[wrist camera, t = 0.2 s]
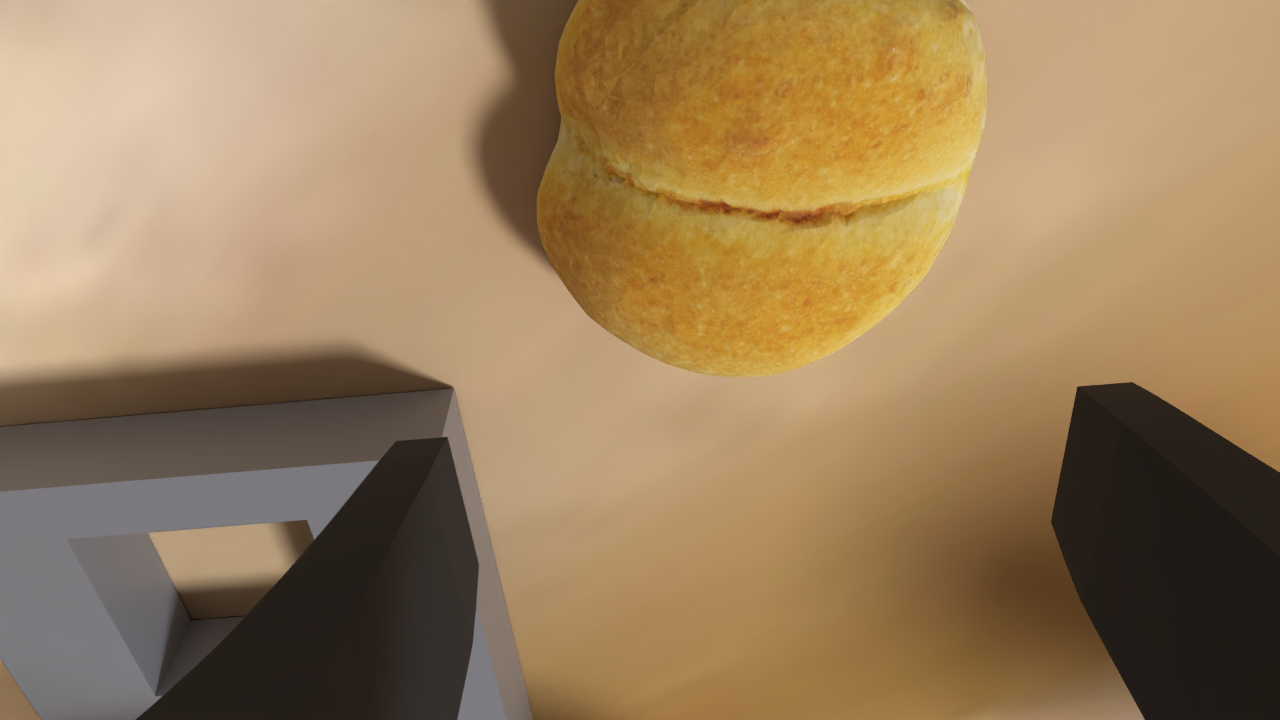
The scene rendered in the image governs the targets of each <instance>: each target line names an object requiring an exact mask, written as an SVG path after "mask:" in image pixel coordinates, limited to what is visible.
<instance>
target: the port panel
mask: <svg viewBox="0 0 1280 720" xmlns="http://www.w3.org/2000/svg"><path fill="white" fill-rule="evenodd" d="M440 437H448V440H449V444H450V448H451V452H452V456H453V460H454V464H455V468H456V473H457V477H458V481H459V485H460V489H461V493H462V497H463V501H464V505H465V509H466V513H467V517H468V521H469V525H470V529H471V533H472V538H473V542H474V546H475V550H476V554H477V558H478V562H479V574H478V588H477V602H476V614H475V625H474V636H473V645H472V650H471V655H470V660H469V665H468V670H467V675H466V680H465V685H464V690H463V695H462V700H461V704H460V709H459V714H458V719H457V720H534V719H533V715H532V711H531V707H530V703H529V699H528V694H527V690H526V686H525V682H524V678H523V674H522V669H521V665H520V661H519V657H518V653H517V649H516V644H515V640H514V636H513V632H512V628H511V624H510V619H509V615H508V611H507V607H506V603H505V599H504V594H503V590H502V586H501V582H500V578H499V574H498V569H497V565H496V561H495V557H494V553H493V549H492V544H491V540H490V536H489V532H488V528H487V524H486V519H485V515H484V511H483V507H482V503H481V499H480V494H479V490H478V486H477V482H476V478H475V474H474V469H473V465H472V461H471V457H470V453H469V449H468V444H467V440H466V436H465V432H464V428H463V424H462V419H461V415H460V411H459V407H458V403H457V399H456V394H455V390H454V388H451V389H440V390H428V391H416V392H404V393H392V394H381V395H369V396H357V397H345V398H334V399H322V400H310V401H298V402H287V403H275V404H263V405H251V406H240V407H228V408H216V409H204V410H192V411H181V412H169V413H157V414H145V415H134V416H122V417H110V418H98V419H87V420H75V421H63V422H51V423H39V424H28V425H16V426H4V427H0V660H1V661H2V663H3V664H4V666H5V667H6V669H7V670H8V672H9V673H10V674H11V676H12V677H13V679H14V680H15V682H16V683H17V685H18V686H19V688H20V689H21V691H22V692H23V693H24V695H25V696H26V698H27V699H28V701H29V702H30V704H31V705H32V707H33V708H34V710H35V711H36V712H37V714H38V715H39V717H40V718H41V720H136V719H137V718H138V717H139V716H140V715H142V714H143V713H144V712H145V711H146V710H147V709H149V708H150V707H151V706H152V705H153V704H154V703H155V702H157V701H158V700H159V699H160V698H161V697H162V696H163V695H164V694H165V693H167V692H168V691H169V690H170V689H171V688H172V687H173V686H174V685H175V684H177V683H178V682H179V681H180V680H181V679H182V678H183V677H184V676H185V675H186V674H188V673H189V672H190V671H191V670H192V669H193V668H194V667H195V666H196V665H197V664H198V663H200V662H201V661H202V660H203V659H204V658H205V657H206V656H207V655H208V654H209V653H210V652H211V651H212V650H213V649H214V648H215V647H216V646H217V645H218V644H219V643H220V642H221V641H222V640H223V639H224V638H225V637H226V636H227V635H228V634H229V633H230V632H231V631H232V630H233V629H234V628H235V627H236V626H237V625H238V624H239V623H240V622H241V621H242V620H243V619H244V617H245V616H243V617H230V618H217V619H204V620H191V619H190V617H189V615H188V613H187V611H186V609H185V607H184V605H183V603H182V601H181V599H180V597H179V595H178V593H177V591H176V589H175V587H174V585H173V583H172V581H171V579H170V577H169V575H168V573H167V571H166V569H165V567H164V565H163V563H162V561H161V559H160V557H159V555H158V553H157V551H156V549H155V547H154V545H153V543H152V541H151V539H150V537H149V535H148V533H150V532H162V531H175V530H187V529H199V528H212V527H224V526H237V525H249V524H262V523H274V522H286V521H299V520H307V522H308V524H309V527H310V530H311V532H312V535H313V538H314V540H315V538H316V537H317V536H318V535H319V534H320V533H321V531H322V530H323V529H324V528H325V527H326V525H327V524H328V523H329V522H330V521H331V519H332V518H333V517H334V516H335V515H336V513H337V512H338V511H339V510H340V508H341V507H342V506H343V505H344V503H345V502H346V501H347V500H348V499H349V497H350V496H351V495H352V494H353V492H354V491H355V490H356V489H357V487H358V486H359V485H360V484H361V482H362V481H363V480H364V479H365V477H366V476H367V475H368V474H369V473H370V471H371V470H372V469H373V468H374V466H375V465H376V464H377V463H378V461H379V460H380V459H381V458H382V457H383V456H384V454H385V453H386V452H387V451H388V450H389V448H390V447H391V446H392V445H393V444H394V443H395V442H396V441H402V440H414V439H427V438H440Z"/></svg>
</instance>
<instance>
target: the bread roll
mask: <svg viewBox="0 0 1280 720" xmlns="http://www.w3.org/2000/svg"><path fill="white" fill-rule="evenodd" d="M555 86H556V96H557V102H558V106H559V111H560V113H561V126H560V131H559V137H558V142H557V144H556V146H555V148H554V150H553V152H552V154H551V157H550V159H549V161H548V163H547V166H546V169H545V172H544V175H543V178H542V181H541V184H540V187H539V190H538V194H537V219H536V221H537V225H538V230H539V234H540V238H541V242H542V245H543V248H544V250H545V252H546V254H547V257H548V259H549V261H550V263H551V265H552V267H553V268H554V270H555V271H556V273H557V274H558V276H559V277H560V279H561V280H562V282H563V283H564V285H565V286H566V288H567V289H568V291H569V292H570V293H571V295H572V296H573V297H574V299H575V300H576V301H577V302H578V304H579V305H580V306H581V308H582V309H583V310H584V311H585V313H586V314H587V315H588V316H589V317H590V318H592V319H593V320H594V321H596V322H597V323H598V324H599V325H601V326H602V327H603V328H604V329H606V330H607V331H609V332H610V333H612V334H613V335H615V336H616V337H618V338H619V339H621V340H622V341H624V342H625V343H627V344H629V345H630V346H632V347H634V348H635V349H637V350H639V351H641V352H642V353H644V354H646V355H648V356H650V357H652V358H654V359H657V360H659V361H661V362H664V363H666V364H669V365H672V366H675V367H678V368H682V369H685V370H689V371H692V372H696V373H700V374H708V375H716V376H725V377H753V376H769V375H774V374H778V373H782V372H786V371H790V370H793V369H796V368H799V367H801V366H804V365H807V364H810V363H812V362H815V361H817V360H819V359H821V358H824V357H826V356H828V355H830V354H832V353H834V352H836V351H838V350H839V349H841V348H843V347H844V346H846V345H847V344H849V343H850V342H852V341H853V340H855V339H856V338H858V337H859V336H861V335H862V334H864V333H865V332H866V331H868V330H869V329H871V328H872V327H873V326H874V325H876V324H877V323H878V322H879V321H881V320H882V319H883V318H884V317H885V316H886V315H888V314H889V313H890V312H891V311H892V310H894V309H895V308H896V306H897V305H898V304H899V303H900V302H901V301H902V300H903V299H904V298H905V297H906V296H907V295H908V294H909V293H910V292H911V291H912V290H913V289H914V288H915V287H916V286H917V285H918V283H919V282H920V281H921V280H922V279H923V278H924V277H925V275H926V274H927V272H928V270H929V269H930V267H931V265H932V264H933V262H934V260H935V258H936V257H937V255H938V253H939V252H940V250H941V248H942V246H943V245H944V243H945V241H946V239H947V238H948V236H949V234H950V232H951V230H952V227H953V224H954V221H955V218H956V215H957V212H958V209H959V207H960V204H961V201H962V198H963V196H964V193H965V188H966V184H967V180H968V176H969V173H970V170H971V167H972V164H973V161H974V159H975V156H976V153H977V150H978V147H979V144H980V140H981V137H982V133H983V129H984V125H985V120H986V110H987V77H986V65H985V53H984V47H983V42H982V37H981V31H980V26H979V24H978V22H977V20H976V18H975V17H974V15H973V13H972V11H971V9H970V7H969V5H968V3H967V1H966V0H578V2H577V4H576V6H575V8H574V10H573V12H572V14H571V15H570V17H569V19H568V21H567V24H566V26H565V29H564V31H563V34H562V36H561V39H560V41H559V46H558V53H557V60H556V68H555Z"/></svg>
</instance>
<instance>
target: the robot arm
mask: <svg viewBox="0 0 1280 720" xmlns="http://www.w3.org/2000/svg"><path fill="white" fill-rule="evenodd" d="M1051 523H1052V526H1053V529H1054V531H1055V534H1056V537H1057V540H1058V542H1059V545H1060V548H1061V551H1062V554H1063V556H1064V559H1065V562H1066V565H1067V567H1068V570H1069V572H1070V575H1071V577H1072V580H1073V582H1074V585H1075V588H1076V590H1077V593H1078V595H1079V598H1080V600H1081V602H1082V604H1083V606H1084V608H1085V610H1086V612H1087V613H1088V615H1089V617H1090V619H1091V621H1092V623H1093V625H1094V627H1095V629H1096V630H1097V632H1098V634H1099V636H1100V638H1101V640H1102V642H1103V643H1104V645H1105V647H1106V649H1107V651H1108V653H1109V655H1110V657H1111V658H1112V660H1113V662H1114V664H1115V666H1116V668H1117V669H1118V671H1119V673H1120V675H1121V677H1122V679H1123V680H1124V682H1125V684H1126V686H1127V688H1128V689H1129V691H1130V693H1131V695H1132V697H1133V699H1134V700H1135V702H1136V704H1137V706H1138V708H1139V710H1140V711H1141V713H1142V715H1143V717H1144V719H1145V720H1280V472H1278V471H1276V470H1275V469H1273V468H1271V467H1270V466H1268V465H1266V464H1265V463H1263V462H1262V461H1260V460H1258V459H1257V458H1255V457H1254V456H1252V455H1250V454H1249V453H1247V452H1246V451H1244V450H1242V449H1241V448H1239V447H1238V446H1236V445H1234V444H1233V443H1231V442H1230V441H1228V440H1227V439H1225V438H1223V437H1222V436H1220V435H1219V434H1217V433H1215V432H1214V431H1212V430H1211V429H1209V428H1208V427H1206V426H1204V425H1203V424H1201V423H1200V422H1198V421H1196V420H1195V419H1193V418H1192V417H1190V416H1188V415H1187V414H1185V413H1184V412H1182V411H1180V410H1179V409H1177V408H1176V407H1174V406H1172V405H1171V404H1169V403H1167V402H1166V401H1164V400H1162V399H1161V398H1159V397H1157V396H1156V395H1154V394H1152V393H1151V392H1149V391H1147V390H1145V389H1144V388H1142V387H1140V386H1138V385H1136V384H1134V383H1133V382H1130V383H1117V384H1105V385H1092V386H1080V387H1077V392H1076V397H1075V402H1074V407H1073V412H1072V417H1071V422H1070V427H1069V432H1068V438H1067V443H1066V448H1065V453H1064V458H1063V463H1062V468H1061V473H1060V478H1059V484H1058V489H1057V494H1056V499H1055V504H1054V509H1053V514H1052V519H1051ZM478 574H479V562H478V558H477V554H476V550H475V546H474V542H473V538H472V533H471V529H470V525H469V521H468V517H467V513H466V509H465V505H464V501H463V497H462V493H461V489H460V485H459V481H458V477H457V473H456V468H455V464H454V460H453V456H452V452H451V448H450V444H449V440H448V437H440V438H427V439H414V440H402V441H396V442H395V443H394V444H393V445H392V446H391V447H390V448H389V450H388V451H387V452H386V453H385V454H384V456H383V457H382V458H381V459H380V460H379V461H378V463H377V464H376V465H375V466H374V468H373V469H372V470H371V471H370V473H369V474H368V475H367V476H366V477H365V479H364V480H363V481H362V482H361V484H360V485H359V486H358V487H357V489H356V490H355V491H354V492H353V494H352V495H351V496H350V497H349V499H348V500H347V501H346V502H345V503H344V505H343V506H342V507H341V508H340V510H339V511H338V512H337V513H336V515H335V516H334V517H333V518H332V519H331V521H330V522H329V523H328V524H327V525H326V527H325V528H324V529H323V530H322V531H321V533H320V534H319V535H318V536H317V537H316V538H315V540H314V541H313V542H312V543H311V544H310V545H309V547H308V548H307V549H306V550H305V551H304V552H303V554H302V555H301V556H300V557H299V558H298V559H297V561H296V562H295V563H294V564H293V565H292V567H291V568H290V569H289V570H288V571H287V572H286V573H285V574H284V576H283V577H282V578H281V579H280V580H279V581H278V582H277V583H276V584H275V585H274V587H273V588H272V589H271V590H270V591H269V592H268V593H267V594H266V595H265V596H264V597H263V598H262V599H261V600H260V601H259V603H258V604H257V605H256V606H255V607H254V608H253V609H252V610H251V611H250V612H249V613H248V614H247V615H246V616H245V617H244V619H243V620H242V621H241V622H240V623H239V624H238V625H237V626H236V627H235V628H234V629H233V630H232V631H231V632H230V633H229V634H228V635H227V636H226V637H225V638H224V639H223V640H222V641H221V642H220V643H219V644H218V645H217V646H216V647H215V648H214V649H213V650H212V651H211V652H210V653H209V654H208V655H207V656H206V657H205V658H204V659H203V660H202V661H201V662H200V663H198V664H197V665H196V666H195V667H194V668H193V669H192V670H191V671H190V672H189V673H188V674H186V675H185V676H184V677H183V678H182V679H181V680H180V681H179V682H178V683H177V684H175V685H174V686H173V687H172V688H171V689H170V690H169V691H168V692H167V693H165V694H164V695H163V696H162V697H161V698H160V699H159V700H158V701H157V702H155V703H154V704H153V705H152V706H151V707H150V708H149V709H147V710H146V711H145V712H144V713H143V714H142V715H140V716H139V717H138V718H137V719H136V720H457V719H458V714H459V709H460V704H461V700H462V695H463V690H464V685H465V680H466V675H467V670H468V665H469V660H470V655H471V650H472V645H473V636H474V625H475V614H476V602H477V588H478Z"/></svg>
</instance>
